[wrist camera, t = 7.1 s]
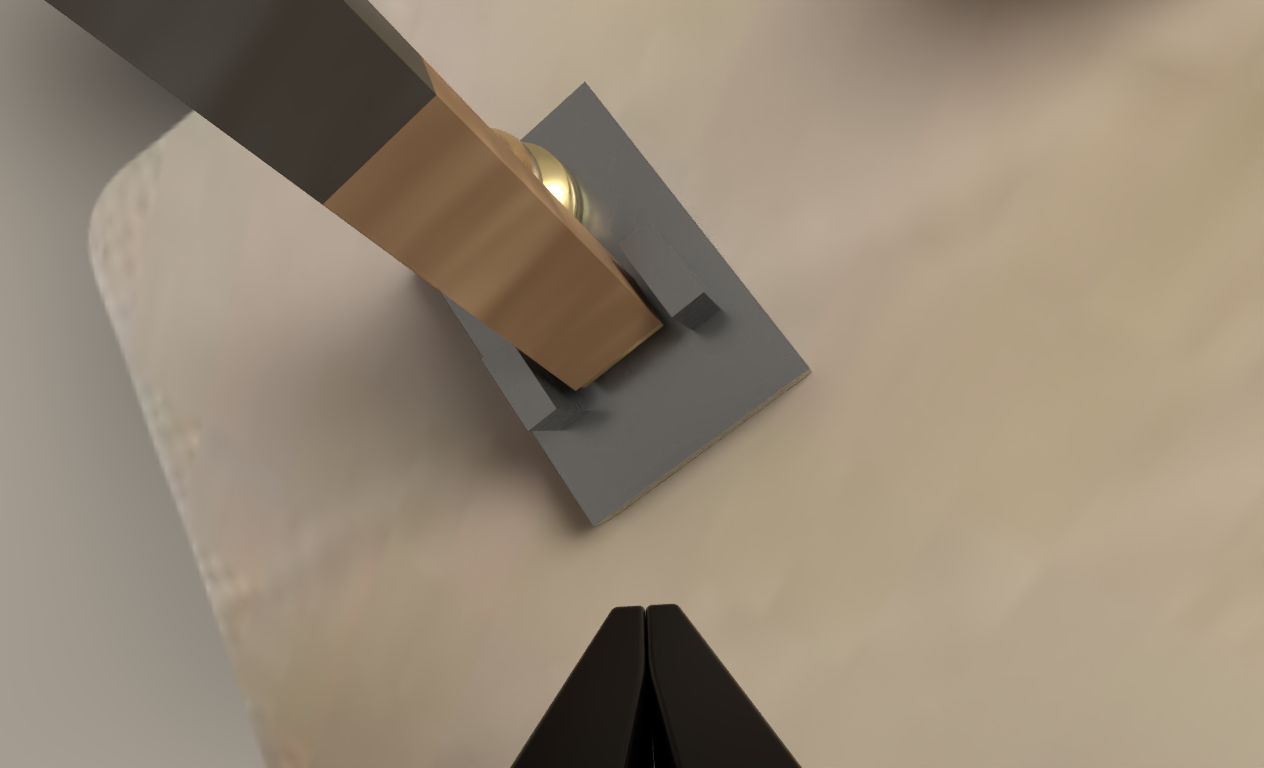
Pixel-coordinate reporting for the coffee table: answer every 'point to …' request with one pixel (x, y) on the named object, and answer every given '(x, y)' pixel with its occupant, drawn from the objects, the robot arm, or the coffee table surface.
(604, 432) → the base
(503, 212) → the lever
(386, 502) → the coffee table surface
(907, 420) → the coffee table surface
